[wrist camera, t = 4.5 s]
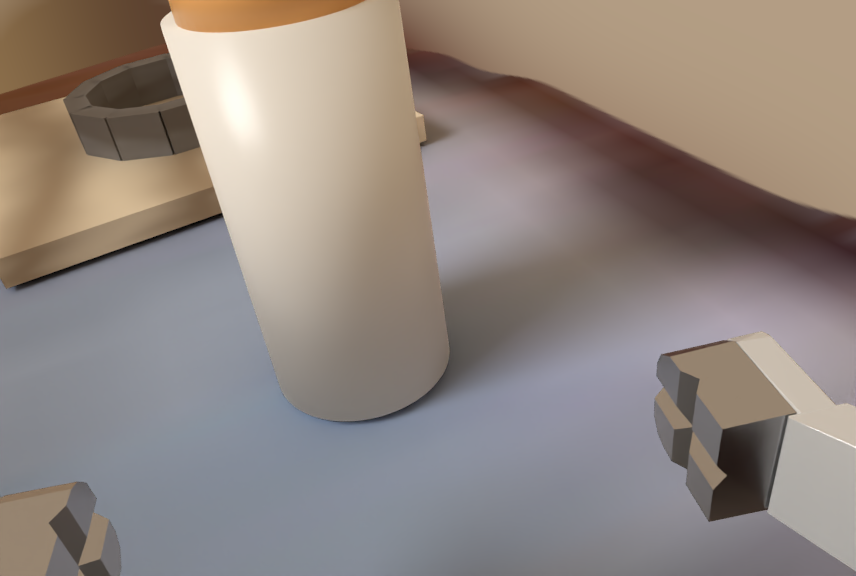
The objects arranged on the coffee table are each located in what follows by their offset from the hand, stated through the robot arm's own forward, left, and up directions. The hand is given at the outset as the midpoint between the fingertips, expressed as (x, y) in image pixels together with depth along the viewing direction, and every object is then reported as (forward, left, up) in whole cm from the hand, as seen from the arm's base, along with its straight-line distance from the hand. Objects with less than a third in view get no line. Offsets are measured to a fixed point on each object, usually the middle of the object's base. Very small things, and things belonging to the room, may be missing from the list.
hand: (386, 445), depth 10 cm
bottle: (+3, +9, -6) cm, 11 cm away
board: (+3, +30, -6) cm, 30 cm away
